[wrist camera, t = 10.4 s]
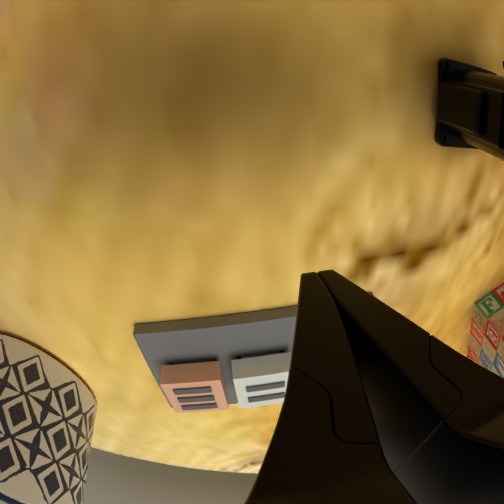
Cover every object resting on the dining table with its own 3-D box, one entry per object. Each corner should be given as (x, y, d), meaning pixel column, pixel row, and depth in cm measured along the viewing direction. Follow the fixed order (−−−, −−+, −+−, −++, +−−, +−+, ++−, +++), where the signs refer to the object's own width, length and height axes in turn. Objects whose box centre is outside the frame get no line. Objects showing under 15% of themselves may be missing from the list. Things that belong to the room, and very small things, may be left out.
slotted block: (218, 349, 26) (220, 382, 23) (226, 380, 29) (228, 410, 26) (162, 354, 26) (159, 386, 23) (176, 384, 28) (175, 414, 25)
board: (371, 292, 25) (377, 301, 24) (352, 373, 32) (355, 382, 31) (135, 324, 24) (132, 334, 23) (172, 399, 31) (171, 408, 30)
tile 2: (287, 340, 26) (296, 372, 23) (287, 373, 29) (294, 402, 26) (230, 348, 26) (233, 381, 23) (236, 380, 29) (239, 410, 26)
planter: (-7, 392, 30) (-33, 482, 16) (-43, 308, 21) (-102, 425, 7) (100, 430, 35) (90, 532, 21) (95, 359, 26) (66, 517, 12)
